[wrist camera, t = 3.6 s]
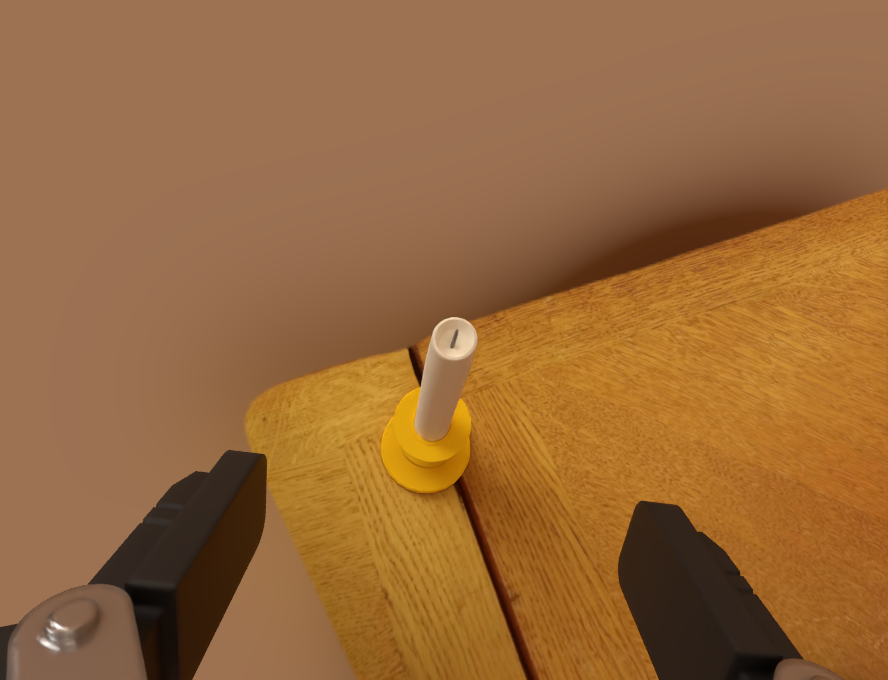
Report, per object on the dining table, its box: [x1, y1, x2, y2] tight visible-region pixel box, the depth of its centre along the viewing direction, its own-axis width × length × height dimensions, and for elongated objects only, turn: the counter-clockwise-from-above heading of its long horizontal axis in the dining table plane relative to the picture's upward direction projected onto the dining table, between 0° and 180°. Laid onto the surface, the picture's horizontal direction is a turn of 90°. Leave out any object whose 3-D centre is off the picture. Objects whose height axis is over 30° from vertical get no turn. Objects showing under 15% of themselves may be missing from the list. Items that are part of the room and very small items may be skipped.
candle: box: [381, 317, 477, 493], centre depth 22 cm, size 5×5×16 cm
